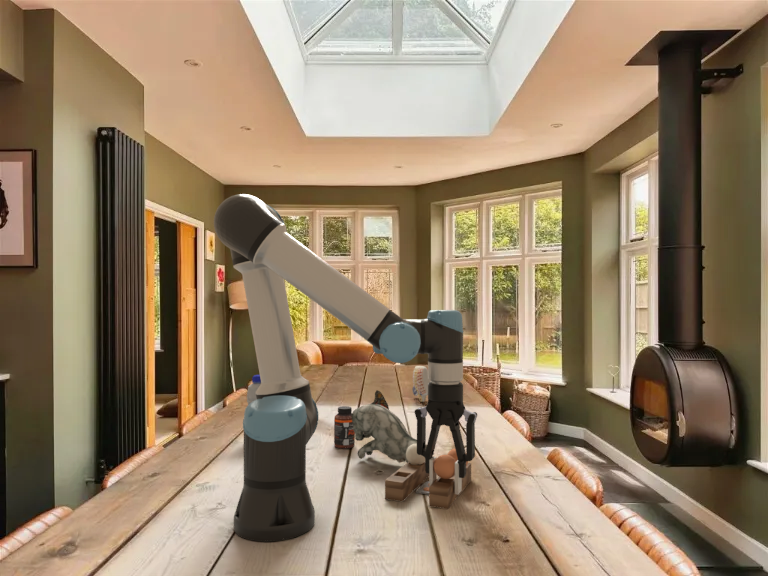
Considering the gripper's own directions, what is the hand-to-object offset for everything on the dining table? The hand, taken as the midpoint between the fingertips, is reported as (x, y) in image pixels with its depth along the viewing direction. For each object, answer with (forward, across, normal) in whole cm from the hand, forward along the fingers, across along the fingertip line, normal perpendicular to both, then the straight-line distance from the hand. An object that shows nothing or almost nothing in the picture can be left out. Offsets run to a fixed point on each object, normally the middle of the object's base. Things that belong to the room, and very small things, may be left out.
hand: (445, 490), depth 117 cm
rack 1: (+2, +10, -4) cm, 11 cm away
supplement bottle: (+2, +39, -28) cm, 48 cm away
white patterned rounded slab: (+2, +41, -99) cm, 107 cm away
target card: (+2, +5, -4) cm, 7 cm away
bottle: (+2, +65, -22) cm, 68 cm away
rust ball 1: (-5, 0, 0) cm, 5 cm away
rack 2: (+2, 0, -4) cm, 5 cm away
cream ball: (-4, +10, -9) cm, 14 cm away
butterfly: (+2, +41, -60) cm, 72 cm away
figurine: (+2, +21, -18) cm, 28 cm away
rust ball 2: (-4, 0, -9) cm, 10 cm away
